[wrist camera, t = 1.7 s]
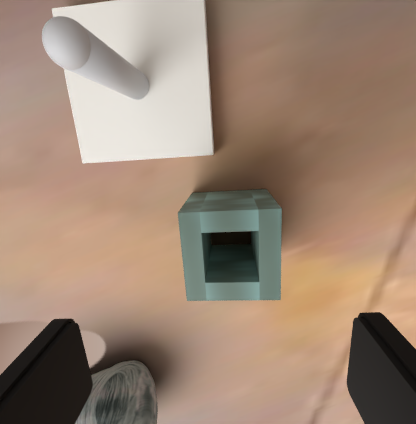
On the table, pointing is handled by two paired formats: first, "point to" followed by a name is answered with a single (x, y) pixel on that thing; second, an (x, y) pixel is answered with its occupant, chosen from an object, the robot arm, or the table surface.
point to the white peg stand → (135, 77)
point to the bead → (231, 246)
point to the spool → (121, 396)
